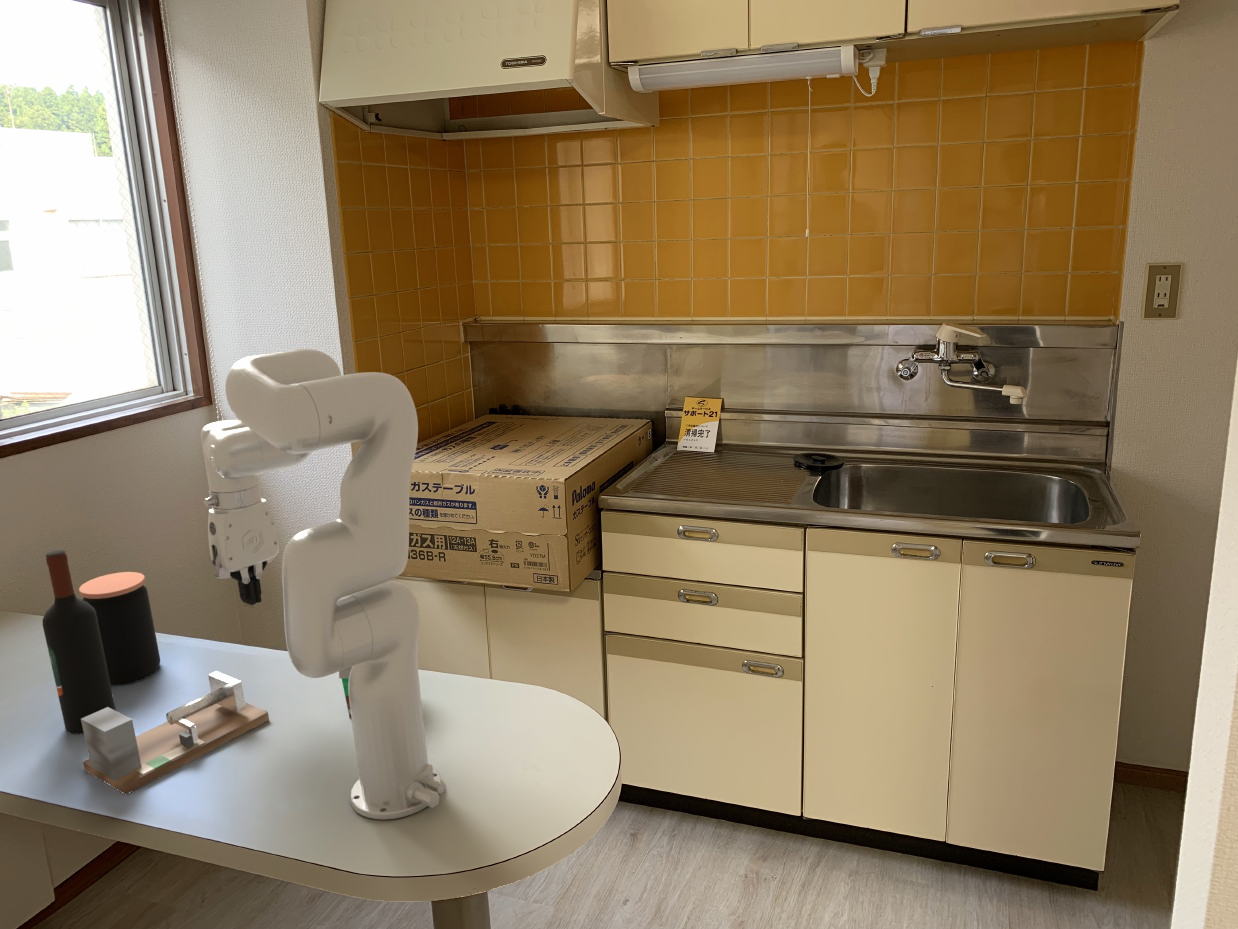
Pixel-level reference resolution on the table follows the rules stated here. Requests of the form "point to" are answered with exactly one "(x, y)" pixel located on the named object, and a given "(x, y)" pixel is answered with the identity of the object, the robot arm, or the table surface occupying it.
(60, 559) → the wine bottle
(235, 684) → the plunger
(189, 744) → the dark grey small block
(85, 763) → the gauge board
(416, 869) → the table surface
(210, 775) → the table surface
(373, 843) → the table surface
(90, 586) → the coffee jar
